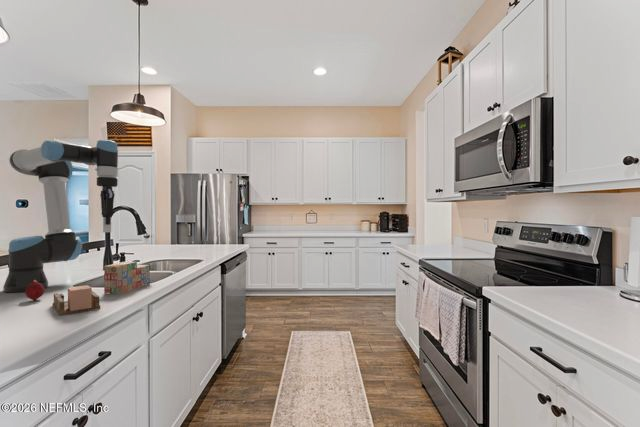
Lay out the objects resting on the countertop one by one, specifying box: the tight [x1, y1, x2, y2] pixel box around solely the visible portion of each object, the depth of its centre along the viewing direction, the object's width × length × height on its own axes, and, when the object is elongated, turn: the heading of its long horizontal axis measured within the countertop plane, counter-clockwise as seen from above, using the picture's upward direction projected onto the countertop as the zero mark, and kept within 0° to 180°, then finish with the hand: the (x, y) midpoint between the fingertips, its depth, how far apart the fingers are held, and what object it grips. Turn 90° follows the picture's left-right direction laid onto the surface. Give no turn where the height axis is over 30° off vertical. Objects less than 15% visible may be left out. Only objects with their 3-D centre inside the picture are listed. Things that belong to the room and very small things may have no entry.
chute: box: [52, 290, 101, 317], centre depth 123 cm, size 16×12×4 cm
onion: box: [24, 280, 46, 301], centre depth 131 cm, size 6×6×8 cm
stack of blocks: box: [103, 261, 151, 295], centre depth 152 cm, size 21×6×12 cm, turn 171°
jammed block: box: [67, 285, 93, 311], centre depth 118 cm, size 6×6×7 cm
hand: (107, 232), depth 142 cm, fingers closed
